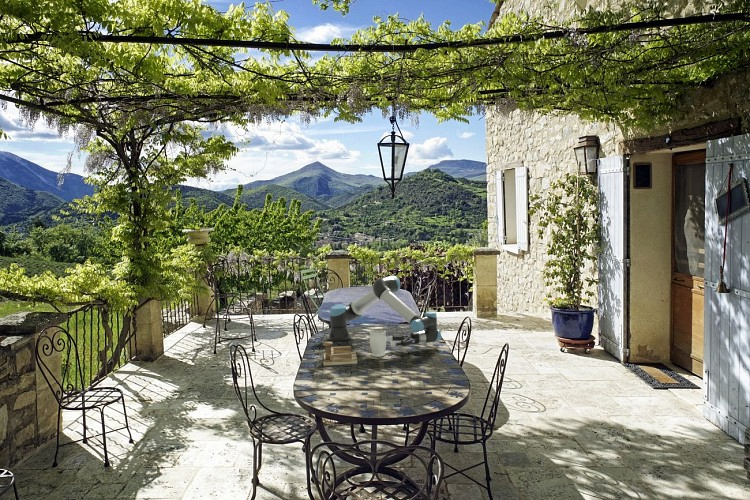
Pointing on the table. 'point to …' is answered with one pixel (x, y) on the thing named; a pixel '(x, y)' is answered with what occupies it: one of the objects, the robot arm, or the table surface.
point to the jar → (378, 342)
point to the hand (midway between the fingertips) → (386, 342)
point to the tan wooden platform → (338, 355)
